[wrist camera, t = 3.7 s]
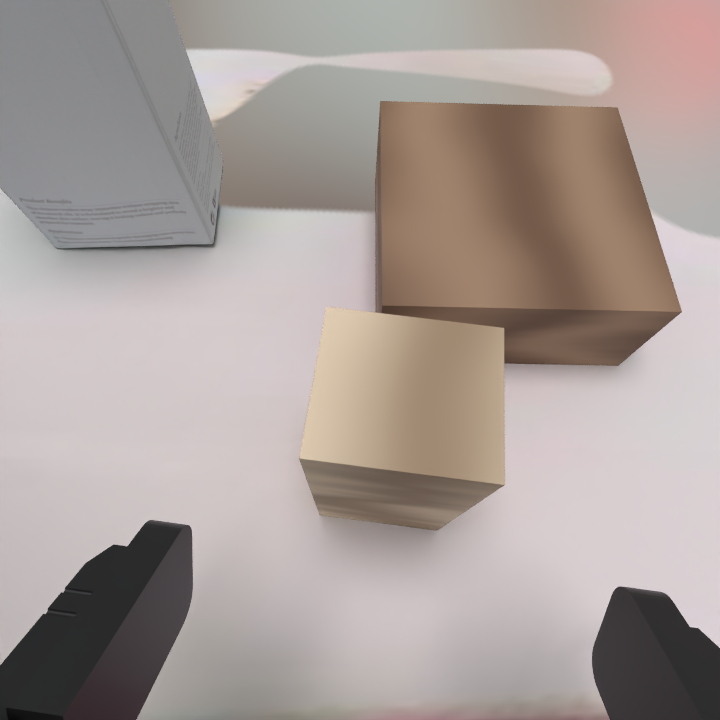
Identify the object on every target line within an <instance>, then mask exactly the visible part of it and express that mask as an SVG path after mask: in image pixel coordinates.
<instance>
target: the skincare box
mask: <svg viewBox="0 0 720 720" xmlns="http://www.w3.org/2000/svg"><path fill="white" fill-rule="evenodd" d="M222 172H223V157H222V154H221V152H220V148H219V145H218V142H217V139H216V137H215V133H214V130H213V127H212V124H211V121H210V118H209V116H208V113H207V110H206V107H205V104H204V101H203V98H202V95H201V92H200V90H199V87H198V84H197V81H196V78H195V75H194V72H193V70H192V67H191V64H190V61H189V58H188V55H187V53H186V50H185V47H184V44H183V41H182V38H181V35H180V32H179V29H178V26H177V23H176V21H175V18H174V15H173V12H172V9H171V6H170V3H169V0H0V188H1V189H2V190H3V192H4V193H5V194H6V195H7V196H8V197H9V198H10V199H11V200H12V201H13V202H14V203H15V204H16V205H17V206H18V208H19V209H20V210H21V211H22V212H23V213H24V214H25V215H26V216H27V217H28V218H29V219H30V220H31V221H32V222H33V223H34V225H35V226H36V227H37V228H38V229H39V230H40V231H41V232H42V233H43V234H44V235H45V236H46V237H47V238H48V240H49V241H50V242H51V243H52V244H53V245H54V246H55V247H56V248H85V247H119V246H156V245H182V244H213V242H214V236H215V228H216V219H217V210H218V202H219V195H220V188H221V180H222Z"/></svg>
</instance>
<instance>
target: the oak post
mask: <svg viewBox="0 0 720 720" xmlns="http://www.w3.org/2000/svg"><path fill="white" fill-rule="evenodd" d="M299 459H300V462H301V465H302V468H303V470H304V473H305V476H306V479H307V481H308V484H309V487H310V490H311V492H312V495H313V498H314V501H315V503H316V506H317V509H318V512H319V514H320V515H325V516H332V517H340V518H347V519H355V520H362V521H370V522H377V523H385V524H392V525H400V526H407V527H415V528H422V529H430V530H438V529H440V528H441V527H443V526H444V525H446V524H447V523H449V522H450V521H452V520H453V519H455V518H456V517H458V516H459V515H461V514H462V513H464V512H465V511H467V510H468V509H470V508H471V507H473V506H474V505H476V504H477V503H479V502H480V501H482V500H483V499H484V498H486V497H487V496H489V495H490V494H492V493H493V492H495V491H496V490H498V489H499V488H501V487H502V486H504V485H505V443H504V328H500V327H492V326H484V325H475V324H467V323H458V322H450V321H442V320H433V319H425V318H416V317H408V316H400V315H391V314H383V313H375V312H366V311H358V310H349V309H341V308H333V307H326V311H325V317H324V323H323V328H322V334H321V339H320V345H319V350H318V356H317V362H316V367H315V373H314V378H313V384H312V389H311V395H310V401H309V406H308V412H307V417H306V423H305V428H304V434H303V439H302V445H301V451H300V456H299Z"/></svg>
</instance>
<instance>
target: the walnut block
mask: <svg viewBox="0 0 720 720" xmlns="http://www.w3.org/2000/svg"><path fill="white" fill-rule="evenodd" d="M375 214H376V313H383V314H391V315H400V316H408V317H416V318H425V319H433V320H442V321H450V322H458V323H467V324H475V325H484V326H492V327H500V328H504V363H513V364H561V365H609V366H618V365H619V364H620V363H622V362H623V361H624V360H625V359H626V358H628V357H629V356H630V355H631V354H632V353H634V352H635V351H636V350H637V349H638V348H639V347H641V346H642V345H643V344H644V343H645V342H647V341H648V340H649V339H650V338H651V337H653V336H654V335H655V334H656V333H657V332H659V331H660V330H661V329H662V328H663V327H664V326H666V325H667V324H668V323H669V322H670V321H672V320H673V319H674V318H675V317H676V316H678V315H679V314H680V313H681V312H682V311H681V308H680V304H679V301H678V298H677V295H676V292H675V288H674V285H673V282H672V279H671V276H670V273H669V269H668V266H667V263H666V260H665V257H664V254H663V250H662V247H661V244H660V241H659V238H658V235H657V231H656V228H655V225H654V222H653V219H652V215H651V212H650V209H649V206H648V203H647V200H646V197H645V193H644V190H643V187H642V184H641V181H640V177H639V174H638V171H637V168H636V165H635V162H634V159H633V155H632V153H631V149H630V146H629V143H628V139H627V136H626V133H625V130H624V127H623V123H622V120H621V117H620V114H619V111H618V108H611V107H575V106H574V107H573V106H539V105H537V106H536V105H501V104H500V105H499V104H464V103H463V104H462V103H461V104H460V103H427V102H425V103H424V102H390V101H389V102H388V101H381V102H380V117H379V133H378V148H377V162H376V179H375Z"/></svg>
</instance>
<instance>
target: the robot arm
mask: <svg viewBox="0 0 720 720" xmlns="http://www.w3.org/2000/svg"><path fill="white" fill-rule="evenodd" d="M192 590H193V569H192V530H191V527H190V526H189V525H183V524H176V523H169V522H162V521H154V520H149V521H148V522H146V523H145V524H144V525H143V527H142V528H141V529H140V531H139V532H138V533H137V535H136V536H135V537H134V539H133V540H132V541H131V542H130V544H129V545H128V546H120V545H112V546H111V547H109V548H108V549H106V550H105V551H103V552H102V553H100V554H99V555H97V556H96V557H94V558H93V559H91V560H90V561H88V562H87V563H86V564H85V565H84V566H83V567H82V568H81V570H80V571H79V572H78V573H77V574H76V575H75V577H74V578H73V579H72V580H71V581H70V583H69V584H68V585H67V586H66V587H65V591H64V593H60V595H59V596H58V597H57V598H56V599H55V601H54V602H53V603H52V604H51V605H50V607H49V608H48V611H47V613H46V614H43V615H42V616H41V617H40V619H39V620H38V621H37V622H36V623H35V625H34V626H33V627H32V628H31V629H30V631H29V632H28V633H27V634H26V635H25V637H24V638H23V639H22V640H21V641H20V643H19V644H18V645H17V646H16V647H15V649H14V650H13V651H12V652H11V653H10V654H9V656H8V657H7V658H6V659H5V660H4V662H3V663H2V664H1V665H0V720H136V719H137V717H138V715H139V713H140V711H141V709H142V707H143V705H144V703H145V701H146V699H147V697H148V695H149V693H150V691H151V689H152V687H153V685H154V682H155V680H156V678H157V676H158V674H159V672H160V670H161V668H162V666H163V664H164V662H165V660H166V658H167V656H168V654H169V652H170V650H171V648H172V646H173V644H174V642H175V640H176V638H177V636H178V634H179V632H180V630H181V628H182V626H183V624H184V621H185V619H186V616H187V613H188V610H189V607H190V603H191V598H192ZM592 667H593V674H594V679H595V682H596V685H597V688H598V691H599V693H600V696H601V698H602V701H603V703H604V706H605V708H606V711H607V713H608V716H609V718H610V720H720V648H719V647H718V646H717V645H716V644H715V643H714V642H712V641H711V640H710V639H709V638H708V637H707V636H706V635H705V634H704V633H703V632H702V631H700V630H699V629H698V628H692V627H689V625H688V624H687V622H686V621H685V619H684V618H683V616H682V615H681V613H680V612H679V610H678V609H677V607H676V606H675V604H674V603H673V601H672V600H671V599H670V597H669V596H668V595H666V594H665V593H662V592H657V591H650V590H643V589H636V588H628V587H618V588H616V589H615V590H614V592H613V594H612V596H611V599H610V602H609V605H608V607H607V610H606V613H605V616H604V619H603V621H602V624H601V627H600V630H599V632H598V635H597V638H596V641H595V644H594V647H593V653H592Z"/></svg>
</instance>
